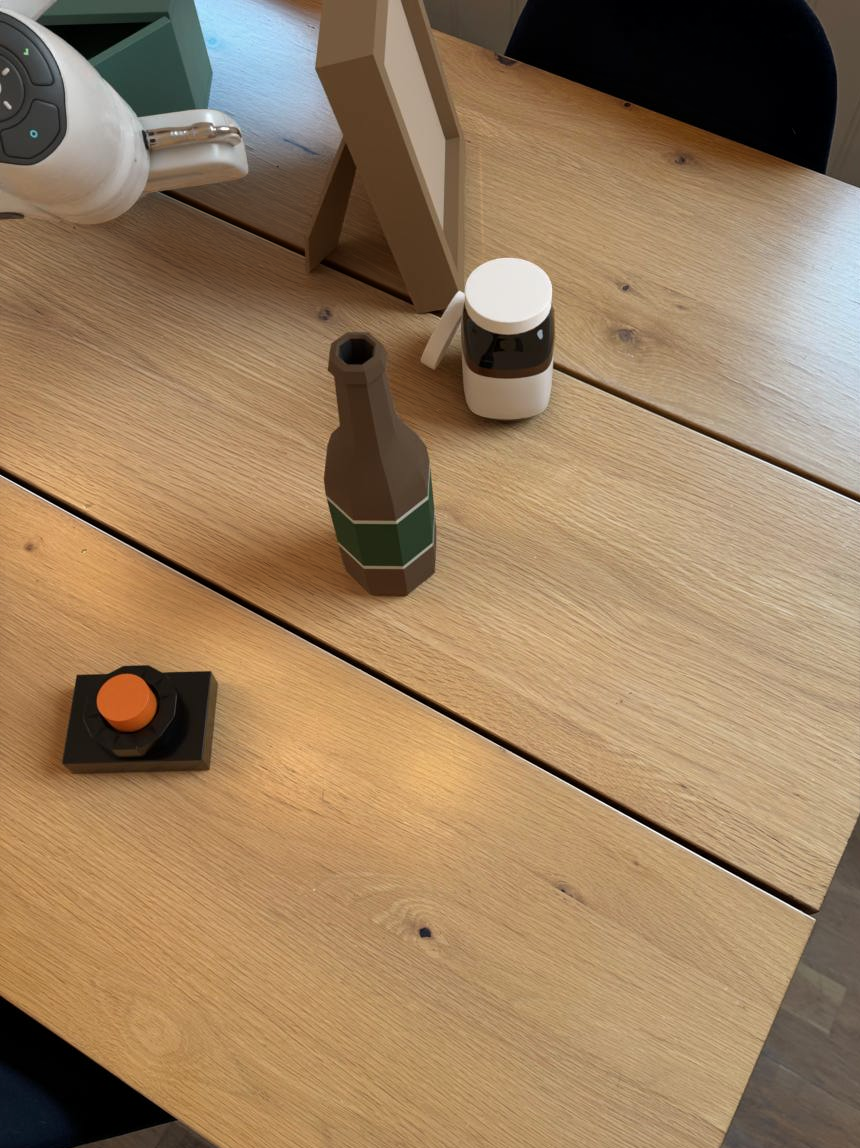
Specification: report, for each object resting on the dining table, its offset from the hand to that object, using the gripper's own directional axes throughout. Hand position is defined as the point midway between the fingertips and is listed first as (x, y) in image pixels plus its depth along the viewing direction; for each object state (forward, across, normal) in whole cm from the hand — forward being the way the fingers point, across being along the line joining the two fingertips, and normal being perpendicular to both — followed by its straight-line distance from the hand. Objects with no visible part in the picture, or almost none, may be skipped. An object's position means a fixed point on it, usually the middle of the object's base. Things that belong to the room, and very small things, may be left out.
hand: (123, 183), depth 81 cm
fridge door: (+25, 0, -4) cm, 25 cm away
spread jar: (+5, -26, +19) cm, 33 cm away
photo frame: (+19, -20, +4) cm, 28 cm away
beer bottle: (-6, -15, +31) cm, 35 cm away
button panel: (-14, +5, +39) cm, 42 cm away
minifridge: (+34, +2, -13) cm, 36 cm away
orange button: (-16, +5, +37) cm, 41 cm away
